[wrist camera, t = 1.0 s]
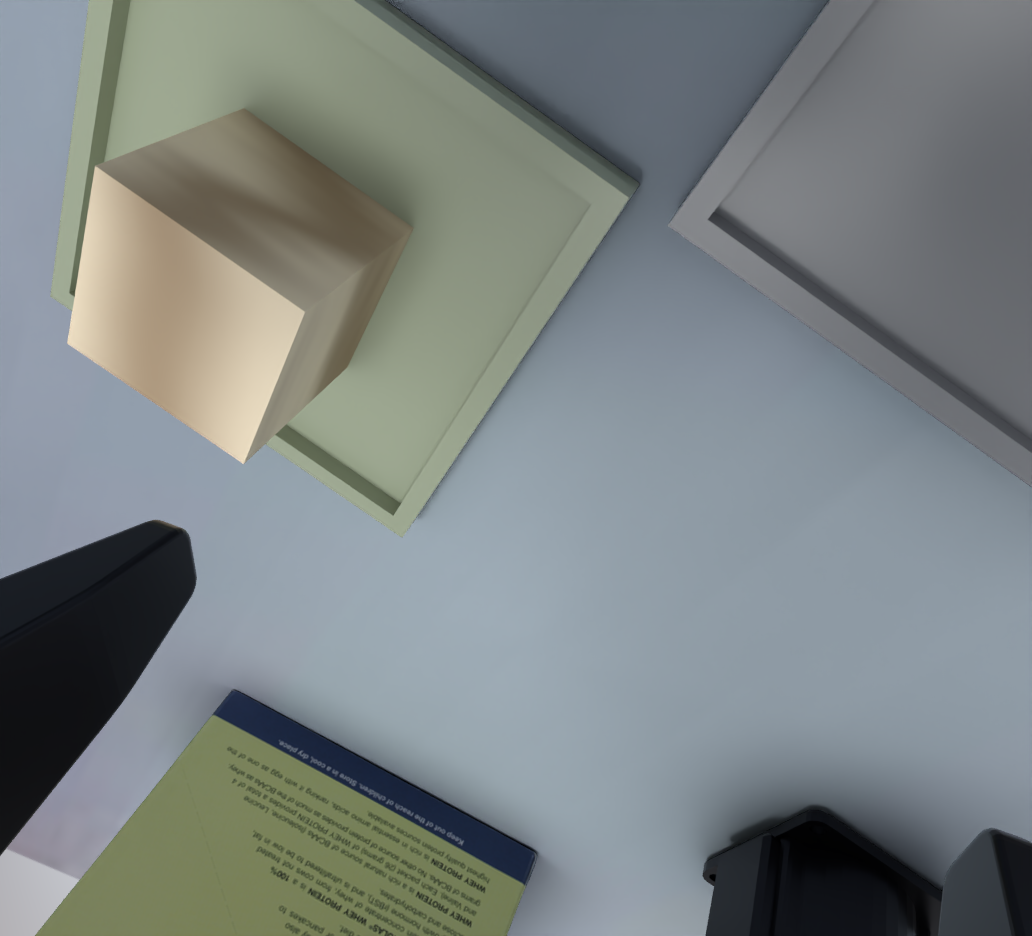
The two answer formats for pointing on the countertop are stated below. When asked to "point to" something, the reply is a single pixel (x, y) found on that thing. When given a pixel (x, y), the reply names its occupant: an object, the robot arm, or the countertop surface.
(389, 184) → the olive tray
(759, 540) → the countertop surface
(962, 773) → the countertop surface
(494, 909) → the protein box
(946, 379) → the charcoal tray
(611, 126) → the countertop surface
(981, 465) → the countertop surface
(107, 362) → the birch block
